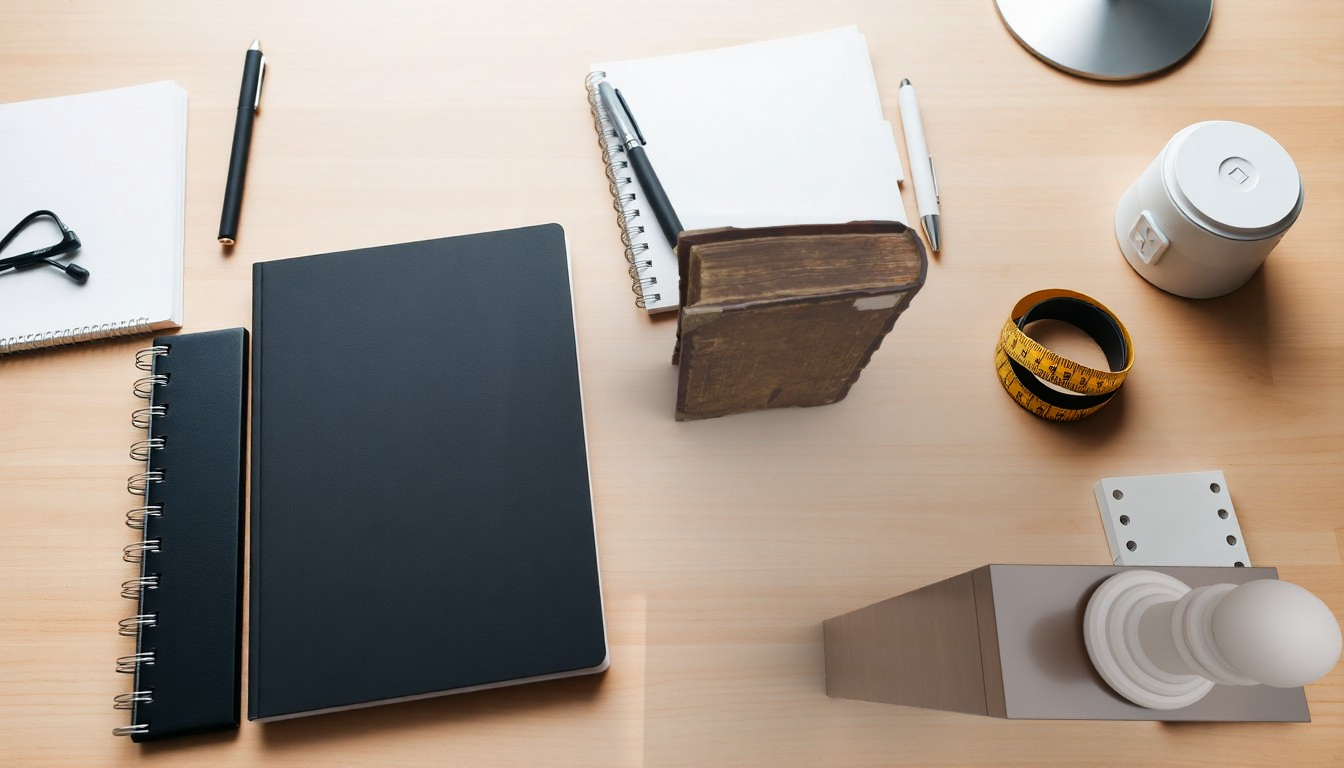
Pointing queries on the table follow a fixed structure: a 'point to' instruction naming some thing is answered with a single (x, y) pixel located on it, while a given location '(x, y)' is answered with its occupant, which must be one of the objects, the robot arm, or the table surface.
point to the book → (787, 311)
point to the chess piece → (1205, 637)
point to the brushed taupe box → (1018, 650)
